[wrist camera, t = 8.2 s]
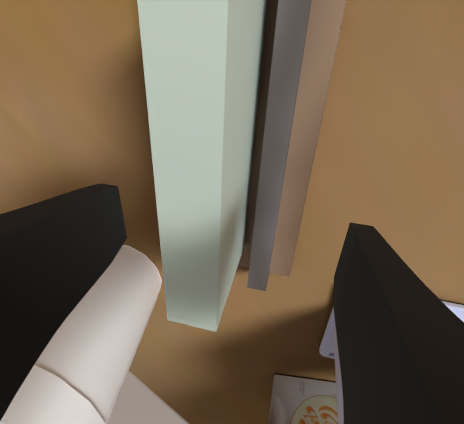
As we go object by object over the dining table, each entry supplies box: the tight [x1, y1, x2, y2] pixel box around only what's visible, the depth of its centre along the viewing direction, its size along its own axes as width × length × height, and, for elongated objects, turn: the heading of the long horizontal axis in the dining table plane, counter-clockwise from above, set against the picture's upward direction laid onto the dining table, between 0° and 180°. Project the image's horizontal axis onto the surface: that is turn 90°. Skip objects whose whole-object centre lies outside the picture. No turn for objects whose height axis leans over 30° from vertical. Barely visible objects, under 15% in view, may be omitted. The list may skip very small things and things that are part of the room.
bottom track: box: [238, 0, 346, 291], centre depth 17 cm, size 9×18×3 cm, turn 177°
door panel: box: [137, 0, 267, 332], centre depth 14 cm, size 2×14×7 cm, turn 178°
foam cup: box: [0, 245, 162, 424], centre depth 21 cm, size 10×9×13 cm
